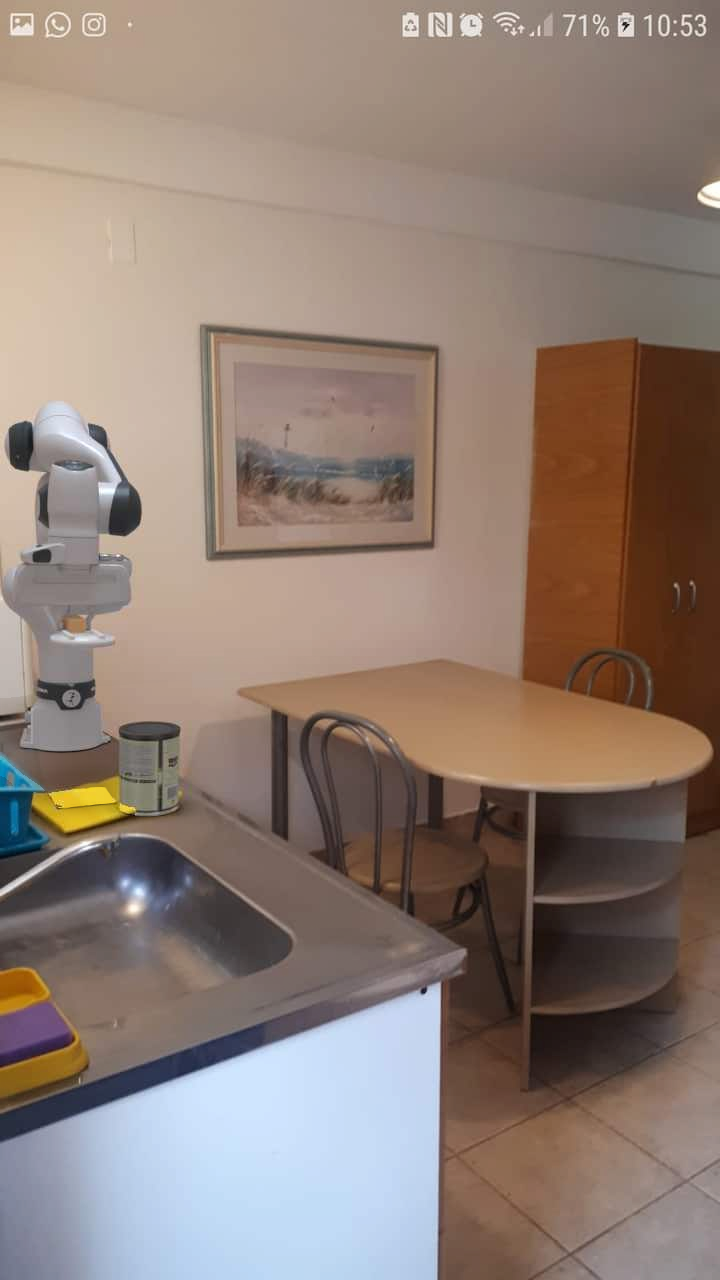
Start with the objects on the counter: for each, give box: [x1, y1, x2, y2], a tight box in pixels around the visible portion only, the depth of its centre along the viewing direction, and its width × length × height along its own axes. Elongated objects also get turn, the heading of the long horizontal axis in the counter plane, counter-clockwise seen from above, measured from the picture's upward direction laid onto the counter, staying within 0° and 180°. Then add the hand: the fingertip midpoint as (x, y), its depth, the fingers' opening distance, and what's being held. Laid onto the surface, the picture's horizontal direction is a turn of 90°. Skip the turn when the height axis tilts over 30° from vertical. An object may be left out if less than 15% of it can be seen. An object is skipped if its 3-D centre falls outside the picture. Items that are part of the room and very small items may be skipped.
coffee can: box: [118, 721, 181, 817], centre depth 162 cm, size 10×10×14 cm
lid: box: [50, 615, 116, 649], centre depth 165 cm, size 17×11×4 cm, turn 27°
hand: (72, 630), depth 170 cm, fingers closed on lid, 3 cm apart
